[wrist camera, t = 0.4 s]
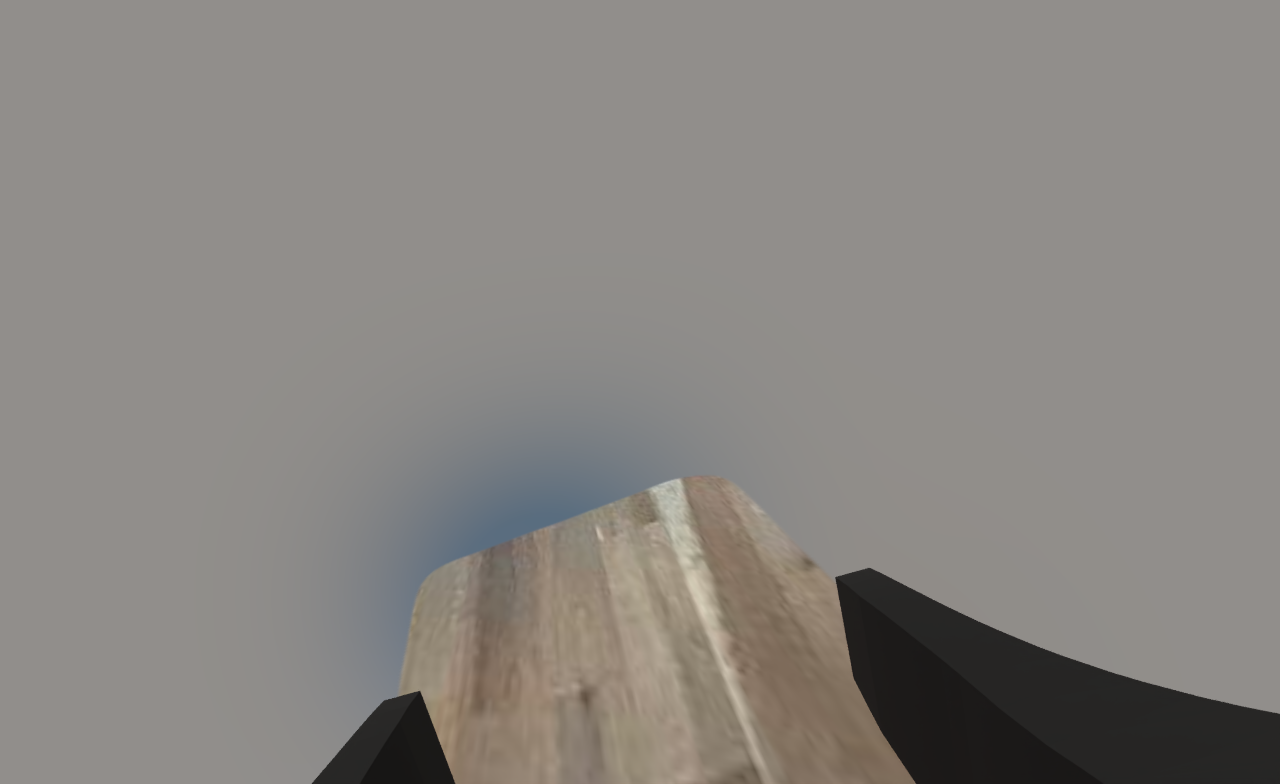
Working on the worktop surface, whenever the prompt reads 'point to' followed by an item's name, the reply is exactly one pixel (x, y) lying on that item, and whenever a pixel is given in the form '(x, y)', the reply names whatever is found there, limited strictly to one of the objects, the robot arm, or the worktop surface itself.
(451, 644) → the worktop surface
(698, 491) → the worktop surface
